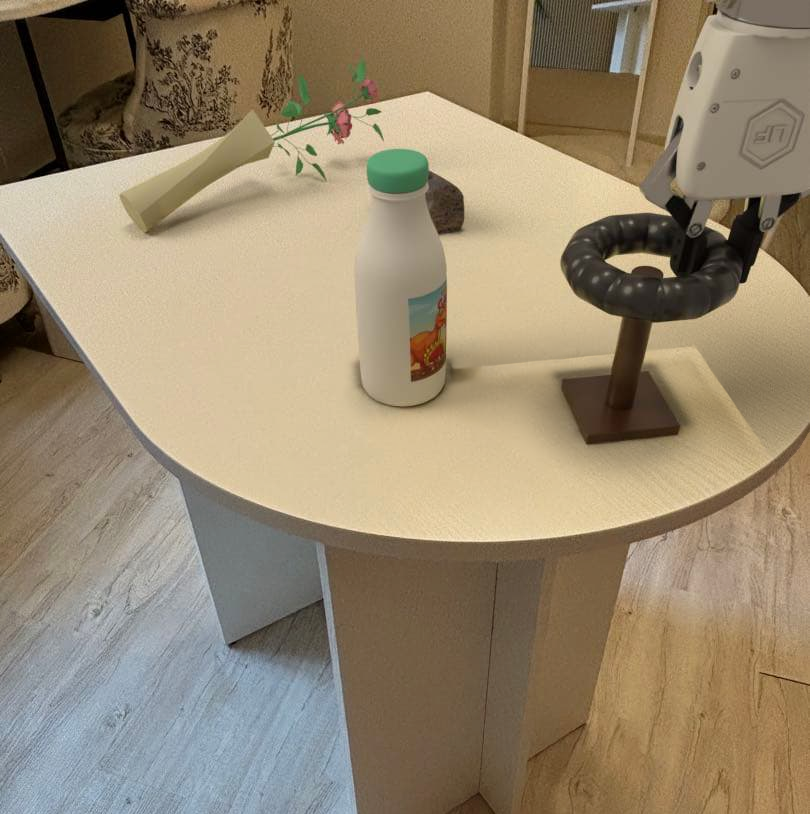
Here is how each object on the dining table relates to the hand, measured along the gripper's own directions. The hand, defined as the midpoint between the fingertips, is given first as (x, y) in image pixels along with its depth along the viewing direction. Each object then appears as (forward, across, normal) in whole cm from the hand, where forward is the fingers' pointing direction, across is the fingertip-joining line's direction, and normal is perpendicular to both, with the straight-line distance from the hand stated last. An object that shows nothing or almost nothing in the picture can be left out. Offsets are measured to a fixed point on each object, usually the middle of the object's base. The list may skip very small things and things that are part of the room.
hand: (708, 274), depth 61 cm
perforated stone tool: (+13, -18, +38) cm, 44 cm away
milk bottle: (+13, -23, +7) cm, 27 cm away
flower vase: (+13, -36, +51) cm, 63 cm away
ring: (-1, -5, 0) cm, 5 cm away
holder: (+12, -5, 0) cm, 13 cm away
